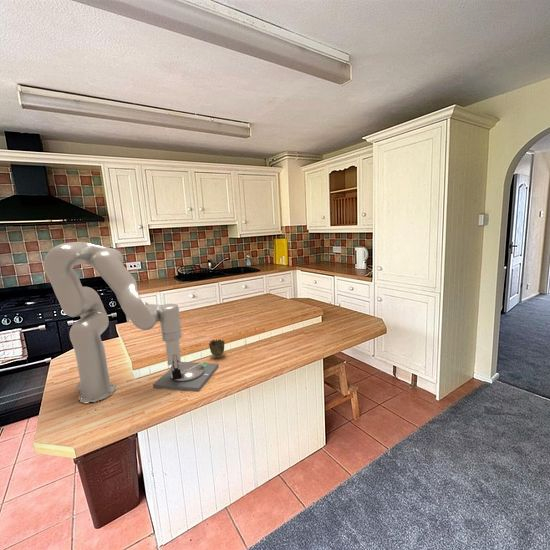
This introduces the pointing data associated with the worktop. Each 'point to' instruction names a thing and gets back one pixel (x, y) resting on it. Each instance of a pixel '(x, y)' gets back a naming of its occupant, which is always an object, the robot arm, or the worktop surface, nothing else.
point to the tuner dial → (189, 371)
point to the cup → (217, 348)
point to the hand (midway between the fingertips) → (176, 375)
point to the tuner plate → (191, 385)
